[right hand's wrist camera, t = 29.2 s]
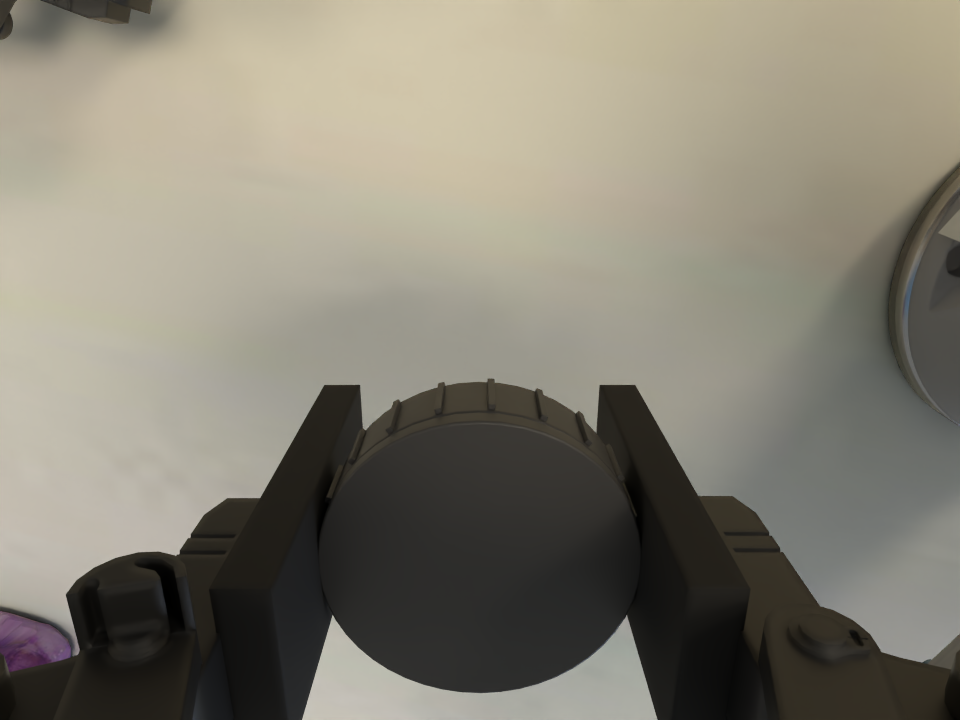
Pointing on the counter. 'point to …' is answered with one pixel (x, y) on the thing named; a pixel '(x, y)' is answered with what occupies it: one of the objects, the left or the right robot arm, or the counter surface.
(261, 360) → the counter surface
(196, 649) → the right robot arm
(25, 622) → the figurine
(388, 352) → the counter surface
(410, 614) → the lid
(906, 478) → the counter surface
